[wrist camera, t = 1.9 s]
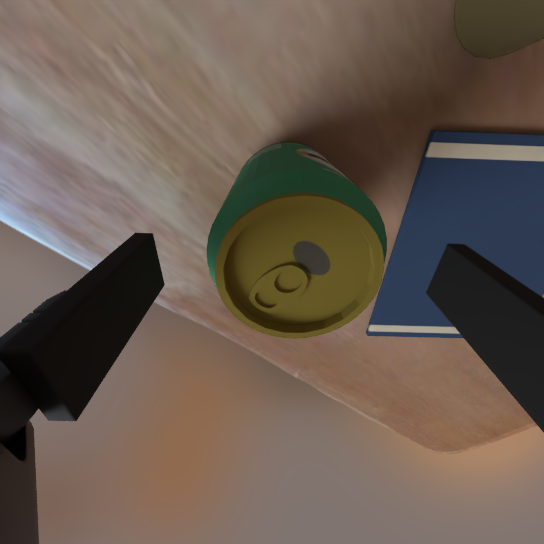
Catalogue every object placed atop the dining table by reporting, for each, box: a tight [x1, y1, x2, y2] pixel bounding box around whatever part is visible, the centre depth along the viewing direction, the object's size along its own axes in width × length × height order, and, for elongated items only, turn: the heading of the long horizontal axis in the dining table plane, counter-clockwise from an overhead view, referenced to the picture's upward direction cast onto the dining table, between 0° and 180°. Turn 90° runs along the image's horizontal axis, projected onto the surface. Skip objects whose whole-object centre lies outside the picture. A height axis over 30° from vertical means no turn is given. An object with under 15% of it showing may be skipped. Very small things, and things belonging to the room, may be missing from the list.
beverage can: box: [207, 142, 387, 338], centre depth 15 cm, size 8×8×12 cm
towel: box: [366, 130, 544, 338], centre depth 23 cm, size 20×16×1 cm
